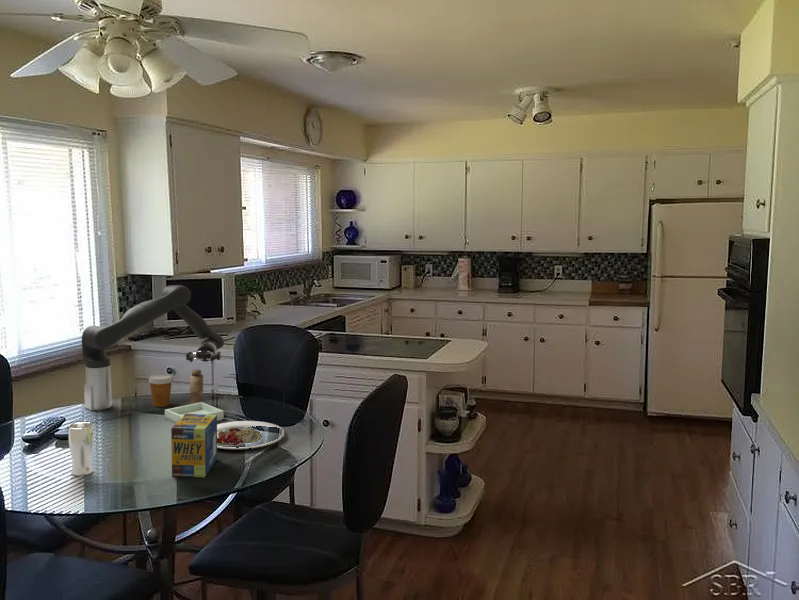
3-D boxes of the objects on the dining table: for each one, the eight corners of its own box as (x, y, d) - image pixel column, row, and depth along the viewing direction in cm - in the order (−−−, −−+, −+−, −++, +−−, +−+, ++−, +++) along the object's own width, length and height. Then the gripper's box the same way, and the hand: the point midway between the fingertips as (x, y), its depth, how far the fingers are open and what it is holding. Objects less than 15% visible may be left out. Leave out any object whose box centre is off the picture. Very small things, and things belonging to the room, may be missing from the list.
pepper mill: (194, 408, 279) (194, 372, 277) (187, 405, 283) (187, 370, 281) (205, 406, 283) (205, 370, 281) (199, 403, 286) (198, 368, 285)
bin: (186, 428, 254) (186, 419, 254) (164, 418, 265) (164, 409, 265) (223, 419, 266) (223, 410, 265) (201, 410, 277) (201, 402, 276)
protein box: (171, 477, 209) (170, 428, 206) (185, 458, 224) (185, 413, 222) (205, 477, 209) (205, 428, 207) (218, 459, 224) (217, 413, 222)
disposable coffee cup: (178, 404, 284) (177, 376, 283) (159, 409, 276) (158, 380, 275) (162, 400, 289) (162, 372, 288) (143, 405, 281) (143, 377, 280)
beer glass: (88, 466, 215) (86, 420, 213) (99, 472, 211) (97, 425, 209) (65, 472, 210) (64, 425, 208) (76, 478, 205) (74, 430, 203)
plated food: (293, 428, 259) (293, 419, 258) (271, 456, 229) (271, 446, 229) (217, 423, 262) (217, 415, 261) (185, 450, 232) (184, 441, 232)
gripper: (190, 343, 306) (183, 351, 290) (223, 343, 308) (218, 351, 292) (190, 359, 307) (184, 368, 291) (223, 359, 309) (218, 368, 293)
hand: (201, 359), depth 292 cm, fingers open, 8 cm apart
